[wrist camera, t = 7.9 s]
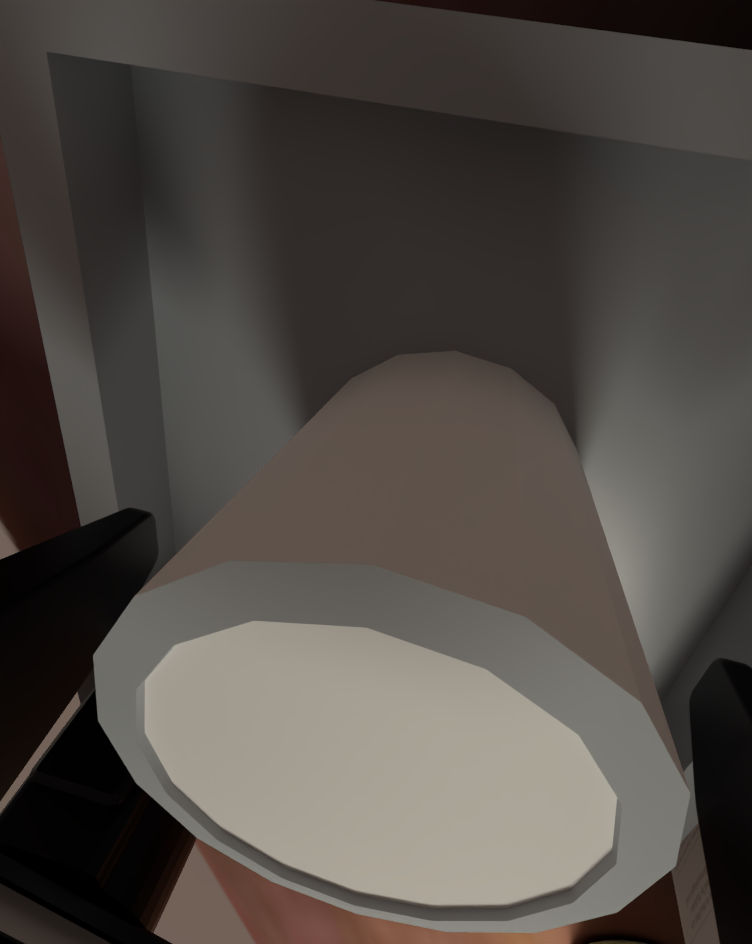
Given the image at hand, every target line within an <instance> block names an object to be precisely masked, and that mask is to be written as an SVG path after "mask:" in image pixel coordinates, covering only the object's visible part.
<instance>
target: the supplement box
mask: <svg viewBox="0 0 752 944" xmlns="http://www.w3.org/2000/svg"><path fill="white" fill-rule="evenodd" d="M671 872H672V877H673V882H674V887H675V892H676V897H677V903H678V908H679V914H680V919H681V924H682V929H683V935H684V940H685V944H720V942H719V937H718V931H717V925H716V920H715V914H714V908H713V903H712V897H711V891H710V886H709V880H708V874H707V869H706V863H705V858H704V852H703V846H702V841H701V835H700V829H699V824H697V825H696V826H695V827H694V828H693V830H692V831H691V832H690V833H689V834H688V835H687V836H686V837H685V839H684V840H683V841H682V842H681V843H680V848H679V853H678V858H677V862H676V867H674V868H673V869H672V870H671Z"/></svg>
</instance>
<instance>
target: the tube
mask: <svg viewBox="0 0 752 944" xmlns="http://www.w3.org/2000/svg"><path fill="white" fill-rule="evenodd" d="M590 944H647V943H642V942H636V941H630V940H603V941H597V942H593V943H590Z"/></svg>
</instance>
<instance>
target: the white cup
mask: <svg viewBox="0 0 752 944" xmlns="http://www.w3.org/2000/svg"><path fill="white" fill-rule="evenodd" d="M93 662H94V675H95V688H96V701H97V714H98V722H99V723H100V725H101V727H102V728H103V730H104V731H105V733H106V735H107V736H108V738H109V740H110V741H111V743H112V745H113V746H114V748H115V749H116V751H117V753H118V754H119V756H120V758H121V759H122V761H123V763H124V764H125V766H126V767H127V769H128V771H129V772H130V774H131V776H132V777H133V779H134V780H135V782H136V783H137V784H138V785H139V786H140V787H141V788H142V789H143V790H144V791H145V792H147V793H148V794H149V795H150V796H151V797H152V798H153V799H154V800H155V801H156V802H158V803H159V804H160V805H161V806H162V807H163V808H164V809H165V810H166V811H168V812H169V813H170V814H171V815H172V816H173V817H174V818H175V819H176V820H178V821H179V822H180V823H181V824H182V825H183V826H184V827H185V828H186V829H188V830H189V831H190V832H191V833H192V834H193V835H194V836H195V837H196V838H198V839H200V840H202V841H203V842H205V843H207V844H208V845H210V846H212V847H213V848H215V849H217V850H219V851H220V852H222V853H224V854H225V855H227V856H229V857H231V858H232V859H234V860H236V861H237V862H239V863H241V864H242V865H244V866H246V867H248V868H249V869H251V870H253V871H254V872H256V873H258V874H259V875H261V876H263V877H265V878H266V879H268V880H270V881H271V882H274V883H277V884H279V885H282V886H285V887H287V888H290V889H292V890H295V891H298V892H300V893H303V894H306V895H308V896H311V897H313V898H316V899H319V900H321V901H324V902H327V903H329V904H332V905H335V906H337V907H340V908H342V909H345V910H348V911H350V912H353V913H356V914H360V915H365V916H370V917H375V918H380V919H385V920H390V921H395V922H400V923H405V924H410V925H415V926H420V927H425V928H430V929H435V930H439V931H444V932H504V933H538V932H542V931H546V930H550V929H553V928H557V927H561V926H565V925H569V924H573V923H577V922H581V921H585V920H589V919H593V918H597V917H601V916H605V915H609V914H613V913H617V912H619V911H620V910H621V909H622V908H624V907H625V906H626V905H627V904H629V903H630V902H631V901H633V900H634V899H635V898H636V897H638V896H639V895H640V894H641V893H643V892H644V891H645V890H646V889H648V888H649V887H650V886H652V885H653V884H654V883H655V882H657V881H658V880H659V879H660V878H662V877H663V876H664V875H665V874H667V873H668V872H669V871H670V870H672V869H673V868H674V867H676V862H677V858H678V853H679V848H680V843H681V838H682V833H683V828H684V823H685V818H686V814H687V809H688V804H689V799H690V794H691V793H690V790H689V787H688V784H687V781H686V778H685V775H684V772H683V769H682V766H681V763H680V760H679V757H678V754H677V751H676V748H675V745H674V742H673V739H672V736H671V733H670V730H669V727H668V724H667V721H666V718H665V715H664V712H663V709H662V706H661V703H660V700H659V696H658V693H657V690H656V687H655V684H654V681H653V678H652V675H651V672H650V669H649V666H648V663H647V660H646V657H645V654H644V651H643V648H642V645H641V642H640V639H639V636H638V633H637V630H636V627H635V624H634V621H633V618H632V615H631V612H630V609H629V606H628V603H627V600H626V597H625V594H624V591H623V588H622V585H621V582H620V578H619V575H618V572H617V569H616V566H615V563H614V560H613V557H612V554H611V551H610V548H609V545H608V542H607V539H606V536H605V533H604V530H603V527H602V524H601V521H600V518H599V515H598V512H597V509H596V506H595V503H594V500H593V497H592V494H591V491H590V488H589V485H588V482H587V479H586V476H585V473H584V470H583V467H582V464H581V461H580V457H579V454H578V451H577V449H576V447H575V445H574V443H573V441H572V439H571V437H570V435H569V433H568V431H567V428H566V426H565V424H564V422H563V420H562V418H561V416H560V414H559V412H558V410H557V408H556V406H555V404H554V403H552V402H551V401H550V400H549V399H548V398H546V397H545V396H544V395H543V394H542V393H540V392H539V391H538V390H537V389H536V388H534V387H533V386H532V385H531V384H530V383H528V382H527V381H526V380H525V379H524V378H522V377H521V376H520V375H519V374H518V373H516V372H515V371H514V370H513V369H511V368H508V367H505V366H502V365H499V364H496V363H493V362H489V361H486V360H483V359H480V358H477V357H474V356H470V355H467V354H464V353H461V352H458V351H443V352H429V353H415V354H401V355H397V356H395V357H393V358H391V359H389V360H387V361H385V362H383V363H381V364H379V365H377V366H375V367H373V368H371V369H369V370H367V371H365V372H363V373H361V374H359V375H357V376H355V377H353V378H351V379H350V380H349V381H348V382H347V383H346V384H345V385H344V386H343V387H342V388H341V389H340V390H339V391H338V392H337V393H336V394H335V395H334V396H333V397H332V398H331V399H330V400H329V401H328V402H327V403H326V405H325V406H324V407H323V408H322V409H321V410H320V411H319V412H318V413H317V414H316V415H315V416H314V417H313V418H312V419H311V420H310V421H309V422H308V423H307V424H306V425H305V426H304V427H303V428H302V429H301V430H300V431H299V432H298V433H297V434H296V435H295V436H294V437H293V438H292V439H291V440H290V441H289V442H288V443H287V444H286V445H285V446H284V447H283V448H282V449H281V450H280V451H279V452H278V453H277V454H276V455H275V456H274V457H273V458H272V459H271V460H270V461H269V462H268V463H267V464H266V465H265V466H264V467H263V468H262V469H261V470H260V471H259V472H258V473H257V474H256V475H255V476H254V477H253V478H252V479H251V480H250V481H249V482H248V483H247V484H246V485H245V486H244V487H243V488H242V489H241V490H240V491H239V492H238V493H237V494H236V495H235V496H234V497H233V498H232V499H231V500H230V501H229V502H228V503H227V504H226V505H225V506H224V507H223V508H222V509H221V510H220V511H219V512H218V513H217V514H216V515H215V516H214V517H213V518H212V519H211V520H210V521H209V522H208V523H207V524H206V525H205V526H204V527H203V528H202V529H201V530H200V531H199V532H198V533H197V534H196V535H195V536H194V537H193V538H192V539H191V540H190V541H189V542H188V543H187V544H186V545H185V546H184V547H183V548H182V549H181V550H180V551H179V552H178V553H177V554H176V555H175V556H174V557H173V558H172V559H171V560H170V561H169V562H168V563H167V564H166V565H165V566H164V567H163V568H162V569H161V570H160V571H159V572H158V573H157V574H156V575H155V576H154V577H153V578H152V579H151V580H150V581H149V582H148V583H147V584H146V585H145V586H144V587H143V588H142V589H141V590H140V591H139V592H138V593H137V594H136V595H135V596H134V597H133V599H132V600H131V602H130V603H129V604H128V606H127V607H126V609H125V610H124V612H123V613H122V615H121V616H120V617H119V619H118V620H117V622H116V623H115V625H114V626H113V627H112V629H111V630H110V632H109V633H108V635H107V636H106V638H105V639H104V640H103V642H102V643H101V645H100V646H99V648H98V649H97V650H96V652H95V653H94V655H93Z"/></svg>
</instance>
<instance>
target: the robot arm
mask: <svg viewBox="0 0 752 944" xmlns="http://www.w3.org/2000/svg"><path fill="white" fill-rule="evenodd" d="M158 555H159V544H158V535H157V526H156V519H155V516H154V515H153V513H151V512H149V511H145V510H141V509H137V508H132V507H129V508H125V509H123V510H120V511H118V512H115V513H113V514H110V515H108V516H106V517H103V518H101V519H98V520H96V521H93V522H91V523H88V524H86V525H84V526H81V527H79V528H76V529H74V530H71V531H69V532H67V533H64V534H62V535H59V536H57V537H54V538H52V539H49V540H47V541H45V542H42V543H40V544H37V545H35V546H32V547H30V548H27V549H25V550H23V551H20V552H18V553H15V554H13V555H10V556H8V557H5V558H3V559H1V560H0V801H1V800H2V798H3V797H4V795H5V794H6V792H7V791H8V790H9V788H10V787H11V785H12V784H13V782H14V781H15V780H16V778H17V777H18V775H19V774H20V772H21V771H22V770H23V768H24V767H25V765H26V764H27V762H28V761H29V759H30V758H31V757H32V755H33V754H34V752H35V751H36V750H37V748H38V747H39V745H40V744H41V743H42V741H43V740H44V738H45V737H46V735H47V734H48V732H49V731H50V730H51V728H52V727H53V725H54V724H55V723H56V721H57V720H58V718H59V717H60V715H61V714H62V713H63V711H64V710H65V708H66V707H67V705H68V704H69V703H70V701H71V700H72V698H73V697H74V695H75V694H76V693H77V691H78V695H79V699H80V703H81V705H80V706H79V708H78V709H77V710H76V712H75V713H74V714H73V716H72V717H71V718H70V720H69V721H68V722H67V723H66V725H65V726H64V727H63V729H62V730H61V732H60V733H59V734H58V736H57V737H56V738H55V739H54V741H53V742H52V743H51V745H50V746H49V747H48V749H47V750H46V751H45V753H44V754H43V755H42V757H41V758H40V759H39V761H38V762H37V763H36V765H35V766H34V767H33V769H32V771H31V773H30V775H29V776H28V777H27V779H26V780H25V781H24V783H23V784H22V785H21V787H20V788H19V789H18V791H17V792H16V793H15V795H14V796H13V797H12V799H11V800H10V801H9V803H8V804H7V805H6V807H5V808H4V809H3V811H2V812H1V813H0V944H172V943H170V942H168V941H166V940H164V939H163V938H161V937H159V936H157V935H155V934H154V930H155V928H156V926H157V924H158V922H159V919H160V917H161V915H162V913H163V911H164V909H165V907H166V904H167V902H168V900H169V898H170V896H171V893H172V891H173V889H174V887H175V885H176V883H177V880H178V878H179V876H180V874H181V871H182V869H183V867H184V865H185V863H186V861H187V859H188V856H189V854H190V852H191V850H192V848H193V846H194V843H195V841H196V839H197V838H196V837H195V836H194V835H193V834H192V833H191V832H190V831H189V830H188V829H186V828H185V827H184V826H183V825H182V824H181V823H180V822H179V821H178V820H176V819H175V818H174V817H173V816H172V815H171V814H170V813H169V812H168V811H166V810H165V809H164V808H163V807H162V806H161V805H160V804H159V803H158V802H156V801H155V800H154V799H153V798H152V797H151V796H150V795H149V794H148V793H147V792H145V791H144V790H143V789H142V788H141V787H140V786H139V785H138V784H137V783H136V782H135V780H134V779H133V777H132V776H131V774H130V772H129V771H128V769H127V767H126V766H125V764H124V763H123V761H122V759H121V758H120V756H119V754H118V753H117V751H116V749H115V748H114V746H113V745H112V743H111V741H110V740H109V738H108V736H107V735H106V733H105V731H104V730H103V728H102V727H101V725H100V723H99V722H98V714H97V701H96V688H95V675H94V662H93V655H94V653H95V652H96V650H97V649H98V648H99V646H100V645H101V643H102V642H103V640H104V639H105V638H106V636H107V635H108V633H109V632H110V630H111V629H112V627H113V626H114V625H115V623H116V622H117V620H118V619H119V617H120V616H121V615H122V613H123V612H124V610H125V609H126V607H127V606H128V604H129V603H130V602H131V600H132V599H133V597H134V596H135V595H136V594H137V593H138V592H139V591H140V590H141V589H142V587H143V585H144V584H145V582H146V580H147V578H148V576H149V575H150V573H151V571H152V569H153V567H154V566H155V564H156V561H157V559H158ZM689 714H690V730H691V746H692V761H693V777H694V792H695V802H696V810H697V817H698V824H699V829H700V835H701V841H702V846H703V852H704V858H705V863H706V869H707V874H708V880H709V886H710V891H711V897H712V903H713V908H714V914H715V920H716V925H717V931H718V937H719V942H720V944H752V668H751V667H750V666H748V665H747V664H744V663H741V662H737V661H733V660H730V659H726V658H716V659H715V660H713V661H712V662H711V663H710V665H709V666H708V668H707V669H706V671H705V672H704V674H703V675H702V676H701V678H700V679H699V681H698V682H697V684H696V685H695V687H694V688H693V690H692V692H691V695H690V699H689Z"/></svg>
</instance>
